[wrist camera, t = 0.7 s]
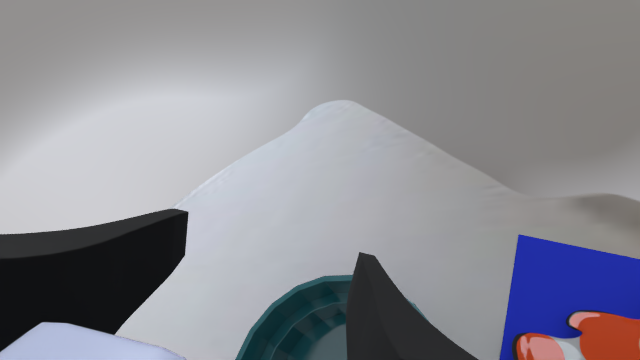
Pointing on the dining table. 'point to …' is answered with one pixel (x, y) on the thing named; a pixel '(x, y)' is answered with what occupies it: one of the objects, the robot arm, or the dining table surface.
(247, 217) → the dining table surface
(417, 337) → the robot arm
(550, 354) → the fish
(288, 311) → the teal mixing bowl
